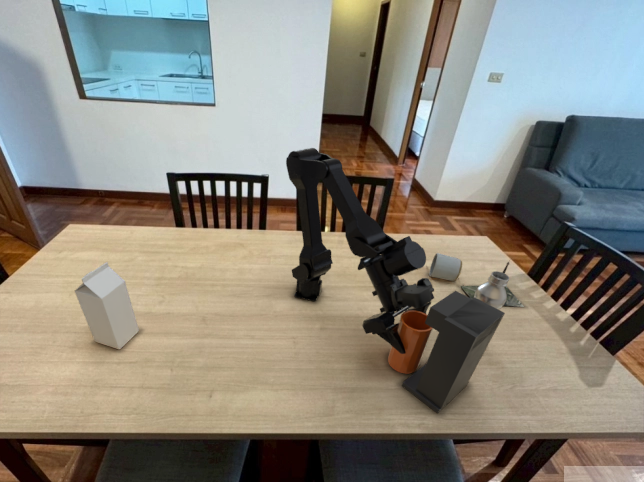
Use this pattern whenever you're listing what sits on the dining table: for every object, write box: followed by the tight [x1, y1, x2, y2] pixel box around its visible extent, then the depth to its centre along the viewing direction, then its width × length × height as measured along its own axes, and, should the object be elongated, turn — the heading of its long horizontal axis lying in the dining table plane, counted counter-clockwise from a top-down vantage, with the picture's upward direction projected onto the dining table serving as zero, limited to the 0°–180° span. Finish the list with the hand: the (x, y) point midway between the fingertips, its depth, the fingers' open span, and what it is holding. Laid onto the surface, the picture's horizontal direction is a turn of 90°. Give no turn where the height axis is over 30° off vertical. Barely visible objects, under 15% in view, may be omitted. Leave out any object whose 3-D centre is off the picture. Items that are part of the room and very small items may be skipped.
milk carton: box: [74, 261, 140, 350], centre depth 80 cm, size 7×7×19 cm
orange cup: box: [387, 309, 434, 375], centre depth 79 cm, size 7×7×13 cm
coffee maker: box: [401, 290, 506, 414], centre depth 72 cm, size 10×12×21 cm
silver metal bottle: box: [474, 270, 510, 311], centre depth 84 cm, size 6×7×20 cm
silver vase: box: [460, 259, 525, 308], centre depth 102 cm, size 15×10×13 cm
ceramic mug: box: [428, 252, 463, 282], centre depth 113 cm, size 11×8×8 cm
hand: (415, 345), depth 78 cm, fingers open, 8 cm apart
